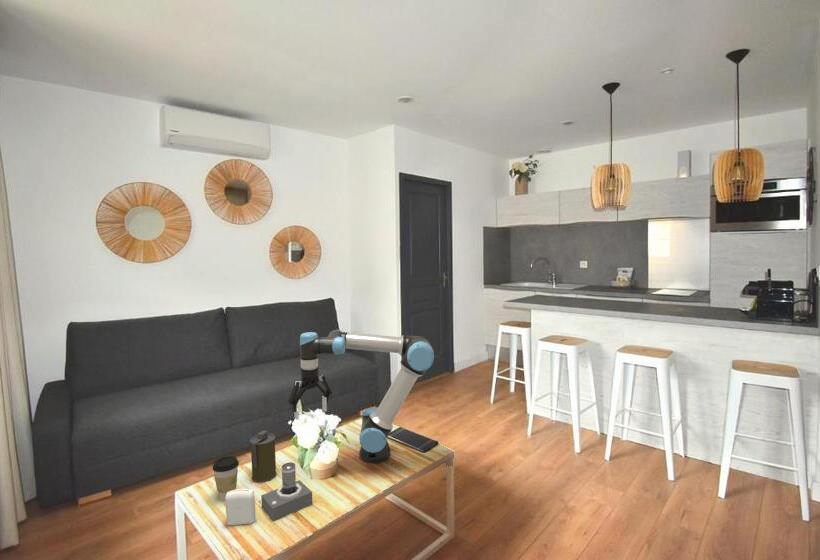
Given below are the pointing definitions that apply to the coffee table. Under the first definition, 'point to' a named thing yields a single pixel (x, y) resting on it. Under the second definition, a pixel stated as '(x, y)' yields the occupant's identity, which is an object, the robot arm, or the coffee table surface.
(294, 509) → the grey holder base
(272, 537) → the coffee table surface
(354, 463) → the coffee table surface
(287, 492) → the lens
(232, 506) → the photo printer
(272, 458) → the canister
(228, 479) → the coffee cup
